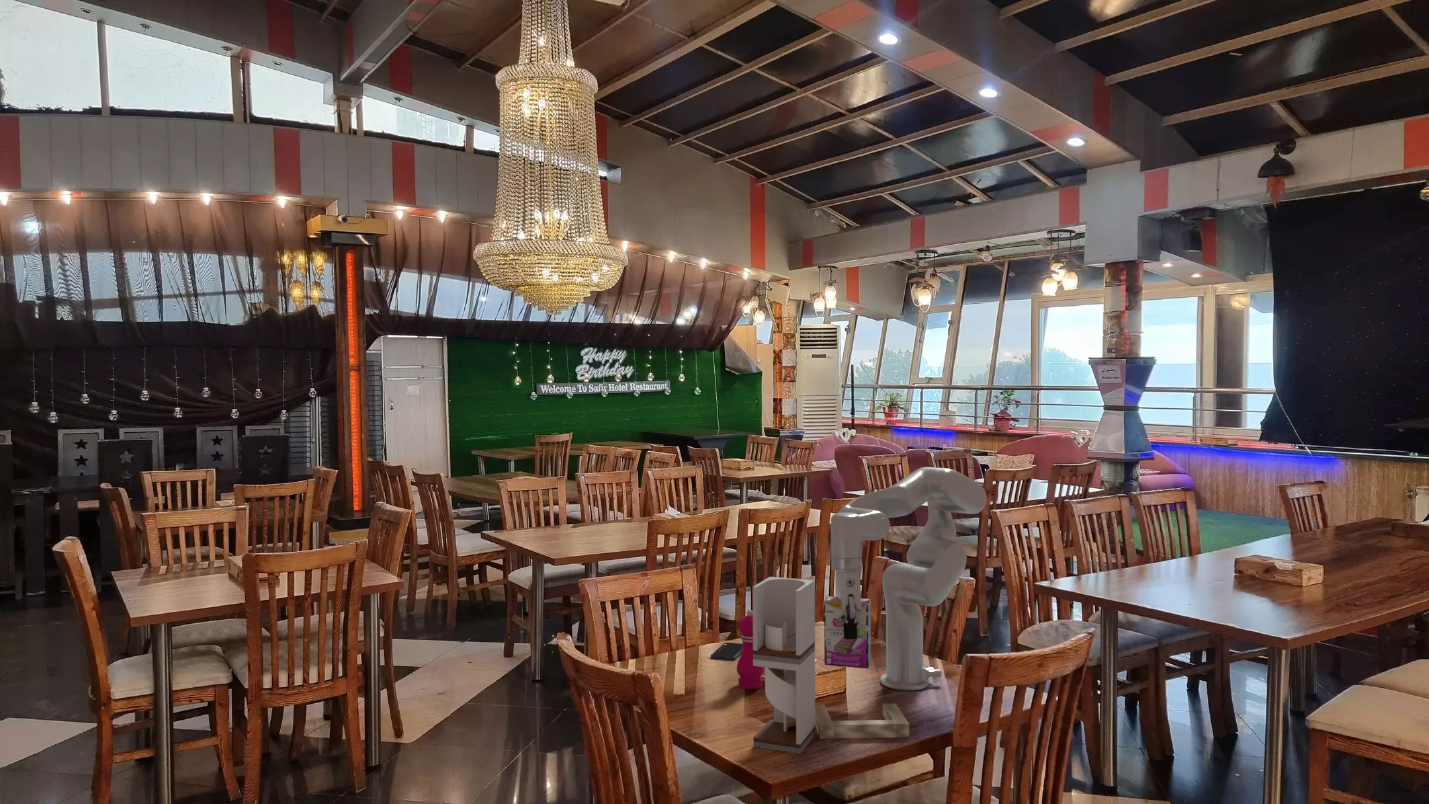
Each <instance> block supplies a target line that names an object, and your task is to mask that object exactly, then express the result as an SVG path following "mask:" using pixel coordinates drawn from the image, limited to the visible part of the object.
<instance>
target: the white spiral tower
mask: <svg viewBox="0 0 1429 804" xmlns="http://www.w3.org/2000/svg"><path fill="white" fill-rule="evenodd" d="M815 584H816V582H815V580H814V579H803V578H802V579H801V578H791V577H789V578H788V577H776V576H769V577H767V578H765V579H764V580H762V581H760V582H759V583H757V584H755V585H754V586H752V611H753V666H760V667H764V672H765V673H764V682H765V683H764V689H765V690H764V691H765V696H766V697H765V698H767V701H768V702H769V703H770V704H771V705H772V706H773V719H769V720H768V721H767V722H766V724H764V726H763V727H761V729H760V730H758V732H757V733H756V734H755V735H754V736H753V746H755V747H754V748H758V747H762V748H761V749H764V750H771V749H774V750H773V751H777V750H779V751H778V752H784V751H787V752H786V753H790V752H791V754H796V753H797V754H796V755H801V754H802V753H803V752H804V750H805V749H806V747H808V745H809V744H810V742H811V741H812V740H813V738H814V737H815V735H816V727H815V705H816V652H815V651H816V638H815V637H816V626H815V625H816V607H815V606H816V604H815V603H816V602H815V601H816V597H815V595H816V593H815V590H816V589H815V587H816V586H815Z"/></svg>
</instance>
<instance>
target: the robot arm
mask: <svg viewBox="0 0 1429 804" xmlns="http://www.w3.org/2000/svg"><path fill="white" fill-rule="evenodd" d="M925 503H927V510H928V511H927V512H928V513H927V515H928V518H927V521H926V523H925V525H924V527H923V528H922V530H921V531H919V534H918V535H917V536H916V537H915V539H914V540H913V541H912V543H911V545H910V546H909V548H908V550H907V552H906V560H907V561H906V562H907V563H908V564H907V563H899V562H898V563H893V564H891V565H888V566H887V567H886V569H885V570H884V572H883V574H882V580H881V582H882V589H883V590H882V591H883V595H884V600H885V601H884V602H885V615H886V616H885V617H886V619H885V620H886V621H885V622H886V624H885V629H886V631H885V632H886V633H885V642H886V643H885V644H886V645H885V651H886V653H885V655H886V656H885V657H886V658H885V660H886V661H885V663H886V664H885V665H886V668H885V669H886V670H885V671H886V673H883V674H882V675H881V676H880V678H879V679H880V681H879V682H880V683H881V684H882V685H883V686H885V687H887V688H890V689H892V690H898V691H919V690H923V689H926V688H928V687H929V686H930V678H941V677H942V670H941V669H935V668H934V667H927V668H926V667H925V666H924V619H923V618H924V617H923V613H922V610H921V607H920V605H921V606H927V607H937V606H939V605H940V604H941V603H943V602H944V601H945V599H946V598H947V597H948V595H949V594H950V592H951V591H952V589H953V588H954V586H955V585H956V584H957V582H958V581H959V579H960V578H961V576H962V574H963V573H964V570H965V569H966V565H967V559H968V558H967V556H968V555H967V551H966V549H965V547H964V546H963V544H962V543H960V542H958V541H957V540H955V539H956V537H957V528H956V525H955V522H954V520H953V516H952V513H959V514H966V515H967V514H968V515H975V514H979V513H981V512H982V511H983V510H984V508H985V506H986V505H987V493H986V490H985V488H984V487H983V486H982V485H981V484H980V483H979V482H978V481H975V480H973V479H971V478H969V477H968V476H966V475H964V474H963V473H961V472H959V471H956V470H955V469H953V468H952V469H951V468H945V467H933V466H932V467H931V466H930V467H929V466H924V467H920V468H917V469H916V470H914V471H912V472H911V473H910V474H908V475H907V476H905V477H903V478H902V479H900V480H899V481H897V482H896V483H895V484H893V485H892V486H888V487H884V488H882V489H879V490H876V491H873V492H869V493H866V494H863V495H860V496H858V497H856V498H854V499H853V500H851V501H849V502H848V503H847V504H845V505H844V506H842V508H841V509H839V511H838V512H837V513H834V514H832V515H831V517H830V551H831V552H830V553H831V554H830V559H831V563H830V564H831V570H832V571H835V597H837V599H838V600H839V602H840V608H841V610H842V611H844V618H845V623H844V639H857V620H856V609H857V610H859V611H861V609H862V605H861V599H862V588H861V578H860V571H862V570H863V558H862V557H863V555H862V554H863V552H862V546H863V545H862V542H863V541H879V540H881V539H883V538H885V537H886V536H887V534H889V531H890V529H891V522H890V519H889V518H899V517H903V516H904V517H905V516H908V515H911V514H912V513H913V512H914V511H915V510H917V509H918V508H919V507H921V506H922V505H924V504H925ZM855 605H856V608H855ZM846 608H849V610H846ZM847 613H849V614H848V615H847Z"/></svg>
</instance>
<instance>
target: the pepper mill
mask: <svg viewBox="0 0 1429 804" xmlns="http://www.w3.org/2000/svg"><path fill="white" fill-rule="evenodd" d="M738 629H739V631H740V632H741V634H740V640H741V641H742V644H743V650H742V654H741V656H740V657H739V658H738V661H737V664H736V672H737V674H738V676H739V677H738V687H739V688H741V689H745V690H757V689H760V688H762V686H763V679H762V675H763V674H764V672H765V667H760V666H753V609H752V610H751V609H748V610H747V611H746V615H744V616H743V617H741V619H740V620H739V622H738Z"/></svg>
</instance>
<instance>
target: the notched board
mask: <svg viewBox="0 0 1429 804" xmlns="http://www.w3.org/2000/svg"><path fill="white" fill-rule="evenodd" d="M882 717H883V719H871V720H864V719H863V720H862V719H861V720H859V719H858V720H832V719H831V716H830V714H829V712H828V710H827V708H826V705H825V704H815V730H816V731H817V734H818V736H819V739H821V740H823V739H826V740H827V739H875V738H876V739H878V738H880V739H881V738H883V739H885V738H888V739H889V738H910V723H909V722H908V720H907V718H906V717H905V715H904V714H903V713H902V711H901V709H900V708H899V706H898V704H897V703H882Z"/></svg>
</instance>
